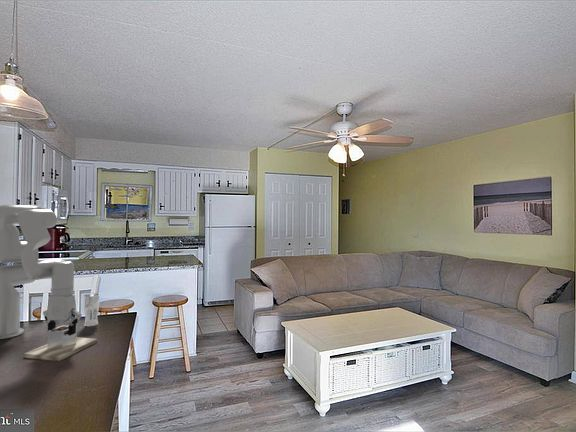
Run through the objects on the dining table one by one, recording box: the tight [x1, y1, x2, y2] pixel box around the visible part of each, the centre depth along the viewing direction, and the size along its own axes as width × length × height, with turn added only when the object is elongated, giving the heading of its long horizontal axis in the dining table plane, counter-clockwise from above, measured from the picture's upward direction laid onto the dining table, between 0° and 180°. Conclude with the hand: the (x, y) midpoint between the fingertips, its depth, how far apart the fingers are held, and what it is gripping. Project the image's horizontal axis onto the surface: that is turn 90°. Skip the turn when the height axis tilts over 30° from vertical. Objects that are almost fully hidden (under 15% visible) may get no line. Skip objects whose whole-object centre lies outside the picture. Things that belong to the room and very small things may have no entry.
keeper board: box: [23, 330, 98, 362], centre depth 136 cm, size 16×19×8 cm
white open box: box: [46, 324, 78, 350], centre depth 136 cm, size 7×7×7 cm
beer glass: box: [82, 293, 100, 328], centre depth 168 cm, size 7×7×15 cm
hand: (61, 333), depth 137 cm, fingers open, 9 cm apart
